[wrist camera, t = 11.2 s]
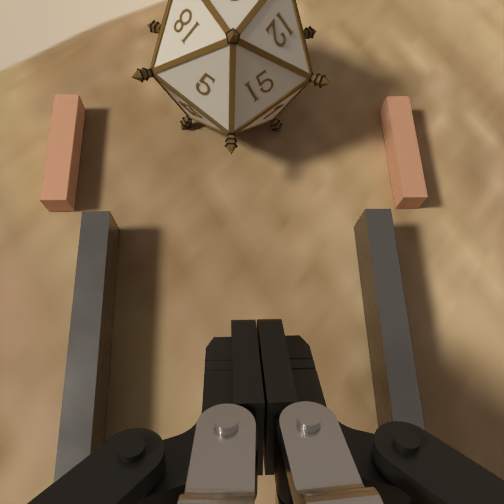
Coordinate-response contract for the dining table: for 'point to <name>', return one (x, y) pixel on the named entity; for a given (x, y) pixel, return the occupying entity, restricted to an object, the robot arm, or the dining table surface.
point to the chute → (101, 323)
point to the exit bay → (71, 132)
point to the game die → (231, 61)
